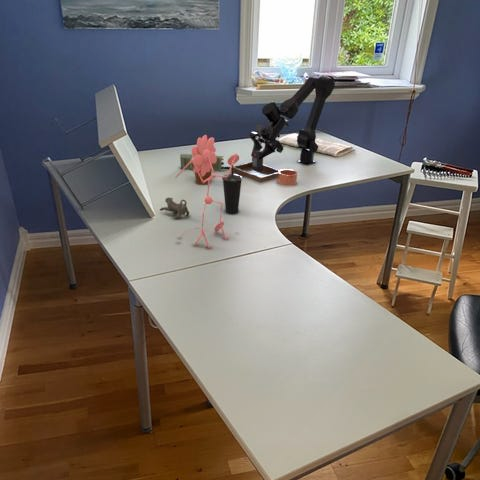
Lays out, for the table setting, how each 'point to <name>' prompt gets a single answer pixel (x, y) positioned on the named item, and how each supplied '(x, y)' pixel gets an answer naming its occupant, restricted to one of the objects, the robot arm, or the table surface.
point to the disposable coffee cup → (198, 180)
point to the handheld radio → (187, 158)
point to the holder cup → (287, 177)
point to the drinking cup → (232, 192)
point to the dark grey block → (257, 161)
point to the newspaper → (319, 145)
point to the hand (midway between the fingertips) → (255, 157)
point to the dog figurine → (176, 207)
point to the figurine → (202, 161)
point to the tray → (260, 177)
